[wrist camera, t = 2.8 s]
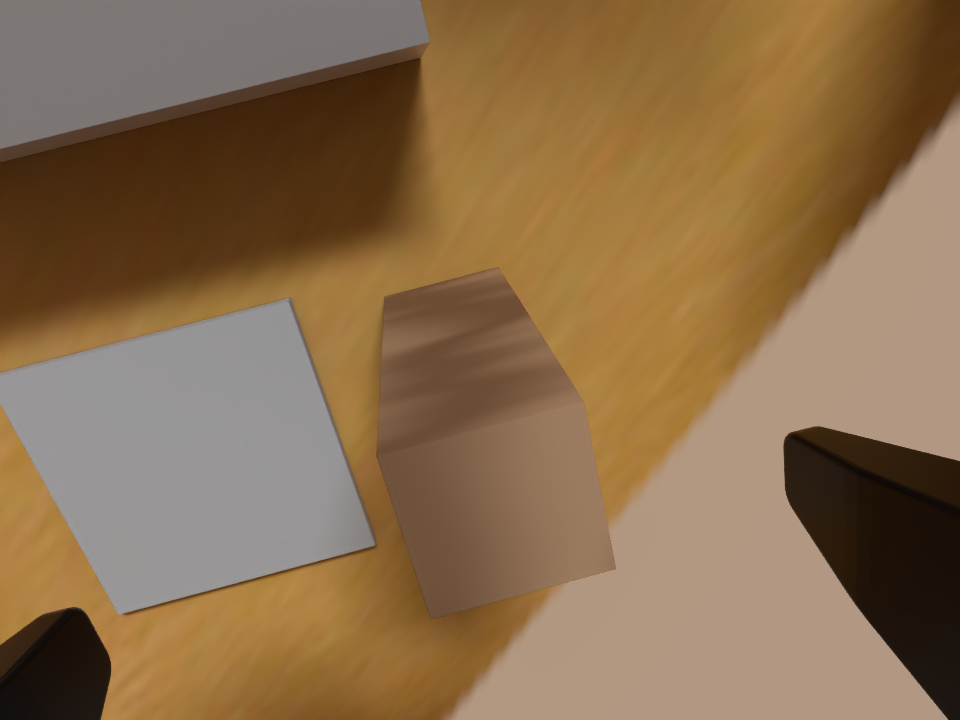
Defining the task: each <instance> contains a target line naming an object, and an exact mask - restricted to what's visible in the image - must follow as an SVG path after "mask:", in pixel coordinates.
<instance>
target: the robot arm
mask: <svg viewBox="0 0 960 720" xmlns="http://www.w3.org/2000/svg"><path fill="white" fill-rule="evenodd" d="M784 474H785V491H786V495H787V498H788V501H789V503H790V505H791V507H792V509H793V510H794V512H795V513H796V515H797V517H798V518H799V520H800V521H801V523H802V524H803V526H804V527H805V529H806V530H807V532H808V533H809V535H810V536H811V538H812V540H813V541H814V543H815V544H816V546H817V547H818V549H819V550H820V552H821V553H822V555H823V556H824V558H825V559H826V561H827V563H828V564H829V566H830V567H831V568H832V570H833V572H834V573H835V575H836V576H837V578H838V579H839V581H840V582H841V584H842V586H843V587H844V589H845V590H846V592H847V593H848V594H849V596H850V597H851V599H852V600H853V602H854V603H855V605H856V606H857V607H858V609H859V610H860V611H861V612H862V614H863V615H864V616H865V618H866V619H867V620H868V621H869V623H870V624H871V625H872V626H873V628H874V629H875V630H876V631H877V633H878V634H879V635H880V636H881V637H882V638H883V640H884V641H885V642H886V644H887V645H888V646H889V647H890V648H891V650H892V651H893V652H894V653H895V655H896V656H897V657H898V658H899V660H900V661H901V662H902V663H903V665H904V666H905V667H906V668H907V669H908V671H909V672H910V673H911V674H912V675H913V677H914V678H915V679H916V680H917V682H918V683H919V684H920V685H921V687H922V688H923V689H924V690H925V691H926V693H927V694H928V695H929V697H930V698H931V699H932V700H933V701H934V703H935V704H936V705H937V706H938V708H939V709H940V710H941V711H942V713H943V714H944V715H945V716H946V717H947V719H948V720H960V461H957V460H953V459H949V458H945V457H941V456H937V455H933V454H929V453H925V452H921V451H917V450H912V449H909V448H905V447H901V446H897V445H892V444H889V443H885V442H881V441H877V440H873V439H869V438H864V437H860V436H857V435H853V434H848V433H844V432H840V431H836V430H832V429H828V428H824V427H819V426H817V427H811V428H807V429H803V430H799V431H794V432H791V433H789V434H788V435H787V436H786V437H785V440H784ZM110 677H111V661H110V657H109V655H108V652H107V650H106V648H105V647H104V645H103V643H102V641H101V639H100V637H99V636H98V634H97V632H96V630H95V628H94V626H93V625H92V623H91V621H90V619H89V617H88V615H87V614H86V613H85V612H84V611H83V610H82V609H80V608H77V607H70V608H66V609H62V610H58V611H54V612H50V613H46V614H43V615H41V616H39V617H38V618H36V619H35V620H34V621H32V622H31V623H30V624H28V625H27V626H25V627H24V628H23V629H21V630H20V631H19V632H17V633H16V634H15V635H13V636H12V637H11V638H9V639H8V640H6V641H5V642H4V643H2V644H1V645H0V720H101V716H102V712H103V707H104V703H105V699H106V694H107V690H108V686H109V682H110Z"/></svg>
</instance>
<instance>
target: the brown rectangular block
mask: <svg viewBox="0 0 960 720" xmlns="http://www.w3.org/2000/svg"><path fill="white" fill-rule="evenodd" d="M377 459H378V462H379V465H380V468H381V471H382V474H383V477H384V480H385V483H386V486H387V489H388V492H389V495H390V498H391V501H392V504H393V507H394V510H395V513H396V516H397V519H398V522H399V525H400V528H401V531H402V534H403V537H404V540H405V543H406V546H407V549H408V552H409V555H410V558H411V561H412V564H413V567H414V570H415V573H416V576H417V579H418V582H419V585H420V588H421V591H422V594H423V597H424V600H425V603H426V606H427V609H428V612H429V615H430V618H431V619H434V618H438V617H442V616H445V615H449V614H453V613H456V612H460V611H464V610H467V609H471V608H475V607H478V606H482V605H486V604H489V603H493V602H497V601H500V600H504V599H508V598H511V597H515V596H519V595H522V594H526V593H530V592H533V591H537V590H541V589H544V588H548V587H552V586H555V585H559V584H563V583H566V582H570V581H574V580H577V579H581V578H585V577H589V576H592V575H596V574H600V573H603V572H607V571H610V570H614V569H616V566H615V562H614V556H613V550H612V545H611V540H610V535H609V530H608V524H607V519H606V514H605V509H604V503H603V498H602V493H601V488H600V483H599V477H598V472H597V467H596V462H595V457H594V451H593V446H592V441H591V436H590V431H589V425H588V420H587V415H586V410H585V405H584V401H583V399H582V398H581V396H580V394H579V393H578V391H577V390H576V388H575V387H574V385H573V384H572V382H571V380H570V379H569V377H568V376H567V374H566V373H565V371H564V369H563V368H562V366H561V365H560V363H559V362H558V360H557V358H556V357H555V355H554V354H553V352H552V351H551V349H550V347H549V346H548V344H547V343H546V341H545V340H544V338H543V336H542V335H541V333H540V332H539V330H538V329H537V327H536V325H535V324H534V322H533V321H532V319H531V318H530V316H529V314H528V313H527V311H526V310H525V308H524V307H523V305H522V303H521V302H520V300H519V299H518V297H517V296H516V294H515V292H514V291H513V289H512V288H511V286H510V285H509V283H508V281H507V280H506V278H505V277H504V275H503V274H502V272H501V270H500V269H499V267H498V268H494V269H490V270H486V271H482V272H478V273H475V274H471V275H467V276H463V277H459V278H455V279H451V280H447V281H444V282H440V283H436V284H432V285H428V286H424V287H420V288H417V289H413V290H409V291H405V292H401V293H397V294H393V295H390V296H386V297H384V316H383V336H382V356H381V376H380V396H379V416H378V436H377Z"/></svg>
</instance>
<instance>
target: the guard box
mask: <svg viewBox="0 0 960 720" xmlns="http://www.w3.org/2000/svg"><path fill="white" fill-rule="evenodd" d="M429 43H430V39H429V35H428V31H427V26H426V22H425V18H424V14H423V9H422V5H421V1H420V0H0V162H4V161H8V160H12V159H16V158H20V157H24V156H28V155H32V154H36V153H40V152H44V151H48V150H52V149H56V148H60V147H64V146H68V145H72V144H76V143H80V142H84V141H88V140H92V139H96V138H100V137H104V136H108V135H112V134H116V133H120V132H124V131H128V130H132V129H136V128H140V127H144V126H148V125H152V124H156V123H160V122H164V121H168V120H172V119H176V118H180V117H184V116H188V115H192V114H197V113H201V112H205V111H209V110H213V109H217V108H221V107H225V106H229V105H233V104H237V103H241V102H245V101H249V100H253V99H257V98H261V97H265V96H269V95H273V94H277V93H281V92H285V91H289V90H293V89H297V88H301V87H305V86H309V85H313V84H317V83H321V82H325V81H329V80H333V79H337V78H341V77H345V76H349V75H353V74H357V73H361V72H365V71H369V70H373V69H377V68H381V67H385V66H389V65H393V64H397V63H401V62H405V61H409V60H413V59H417V58H421V57H422V55H423V53H424V51H425V50H426V48H427V46H428V45H429Z"/></svg>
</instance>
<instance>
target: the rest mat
mask: <svg viewBox="0 0 960 720" xmlns="http://www.w3.org/2000/svg"><path fill="white" fill-rule="evenodd" d="M0 404H1V406H2V408H3V410H4V411H5V413H6V415H7V417H8V419H9V420H10V422H11V424H12V426H13V428H14V429H15V431H16V433H17V435H18V436H19V438H20V440H21V442H22V444H23V445H24V447H25V449H26V451H27V452H28V454H29V456H30V458H31V460H32V461H33V463H34V465H35V467H36V469H37V470H38V472H39V474H40V476H41V477H42V479H43V481H44V483H45V485H46V486H47V488H48V490H49V492H50V494H51V495H52V497H53V499H54V501H55V502H56V504H57V506H58V508H59V510H60V511H61V513H62V515H63V517H64V518H65V520H66V522H67V524H68V526H69V527H70V529H71V531H72V533H73V535H74V536H75V538H76V540H77V542H78V543H79V545H80V547H81V549H82V551H83V552H84V554H85V556H86V558H87V559H88V561H89V563H90V565H91V567H92V568H93V570H94V572H95V574H96V576H97V577H98V579H99V581H100V583H101V584H102V586H103V588H104V590H105V592H106V593H107V595H108V597H109V599H110V601H111V602H112V604H113V606H114V608H115V609H116V611H117V613H118V615H119V614H123V613H127V612H131V611H134V610H138V609H142V608H145V607H149V606H153V605H157V604H160V603H164V602H168V601H171V600H175V599H179V598H183V597H186V596H190V595H194V594H197V593H201V592H205V591H209V590H212V589H216V588H220V587H223V586H227V585H231V584H235V583H238V582H242V581H246V580H249V579H253V578H257V577H261V576H264V575H268V574H272V573H275V572H279V571H283V570H287V569H290V568H294V567H298V566H301V565H305V564H309V563H313V562H316V561H320V560H324V559H327V558H331V557H335V556H339V555H342V554H346V553H350V552H354V551H357V550H361V549H365V548H368V547H372V546H375V543H376V538H375V535H374V533H373V530H372V527H371V524H370V521H369V518H368V516H367V513H366V510H365V507H364V504H363V501H362V499H361V496H360V493H359V490H358V487H357V484H356V482H355V479H354V476H353V473H352V470H351V468H350V465H349V462H348V459H347V456H346V453H345V451H344V448H343V445H342V442H341V439H340V436H339V434H338V431H337V428H336V425H335V422H334V419H333V417H332V414H331V411H330V408H329V405H328V403H327V400H326V397H325V394H324V391H323V388H322V386H321V383H320V380H319V377H318V374H317V371H316V369H315V366H314V363H313V360H312V357H311V354H310V352H309V349H308V346H307V343H306V340H305V338H304V335H303V332H302V329H301V326H300V323H299V321H298V318H297V315H296V312H295V309H294V306H293V304H292V301H291V298H288V299H284V300H280V301H276V302H273V303H269V304H265V305H261V306H257V307H253V308H249V309H245V310H242V311H238V312H234V313H230V314H226V315H222V316H218V317H214V318H211V319H207V320H203V321H199V322H195V323H191V324H187V325H183V326H179V327H176V328H172V329H168V330H164V331H160V332H156V333H152V334H148V335H145V336H141V337H137V338H133V339H129V340H125V341H121V342H117V343H114V344H110V345H106V346H102V347H98V348H94V349H90V350H86V351H83V352H79V353H75V354H71V355H67V356H63V357H59V358H55V359H52V360H48V361H44V362H40V363H36V364H32V365H28V366H24V367H21V368H17V369H13V370H9V371H5V372H1V373H0Z"/></svg>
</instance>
